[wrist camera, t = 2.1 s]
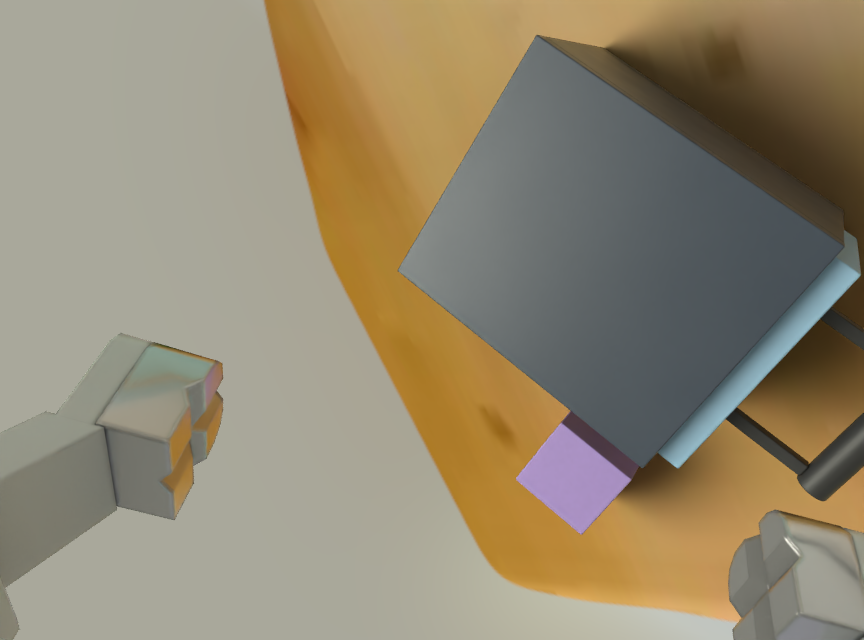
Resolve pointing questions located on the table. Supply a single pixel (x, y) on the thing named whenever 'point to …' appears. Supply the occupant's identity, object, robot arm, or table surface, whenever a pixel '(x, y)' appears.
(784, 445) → the blue drawer
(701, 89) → the table surface
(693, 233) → the drawer cabinet
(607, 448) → the purple block
